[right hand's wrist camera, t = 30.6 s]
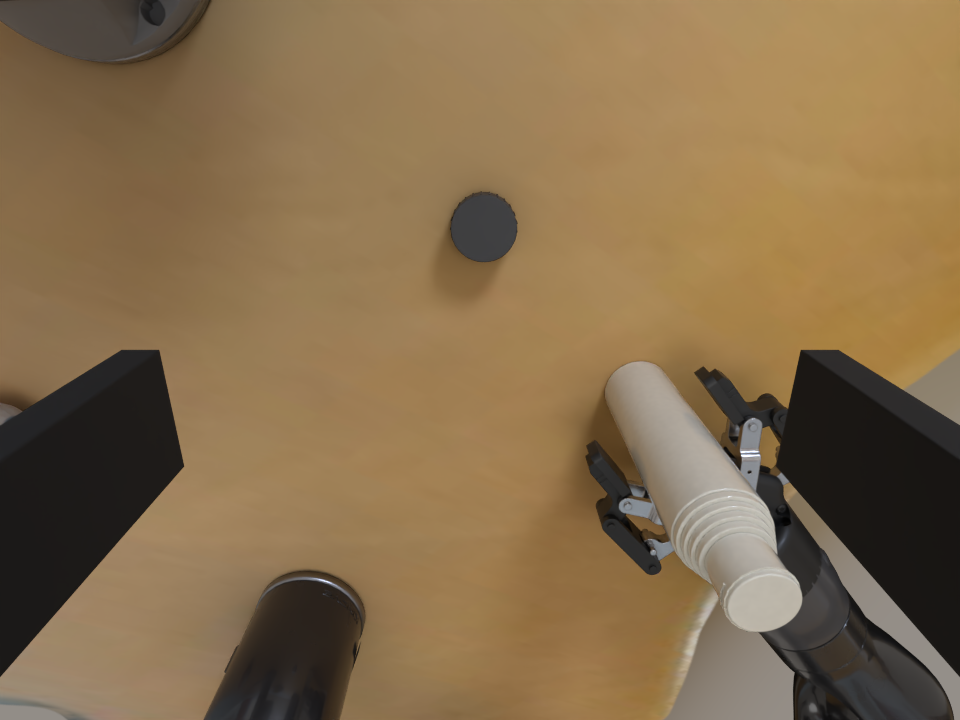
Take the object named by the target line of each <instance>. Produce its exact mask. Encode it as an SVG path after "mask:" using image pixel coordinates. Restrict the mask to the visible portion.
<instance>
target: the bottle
mask: <svg viewBox="0 0 960 720" xmlns="http://www.w3.org/2000/svg"><path fill="white" fill-rule="evenodd" d="M605 400H606V403H607V406H608V408H609V410H610V412H611V414H612V416H613V419H614V421H615V423H616V425H617V427H618V429H619V432H620V434H621V436H622V438H623V440H624V443H625V445H626V447H627V449H628V451H629V453H630V456H631V458H632V460H633V462H634V464H635V467H636V469H637V471H638V473H639V475H640V477H641V480H642V482H643V484H644V486H645V488H646V490H647V493H648V495H649V497H650V499H651V501H652V504H653V506H654V508H655V510H656V512H657V514H658V517H659V519H660V521H661V523H662V525H663V527H664V530H665V532H666V534H667V536H668V538H669V541H670V543H671V545H672V547H673V549H674V551H675V553H676V554H677V555H678V557H679V558H680V559H681V560H682V562H683V563H684V564H685V565H686V566H687V567H688V568H690V569H691V570H693V571H694V572H695V573H697V574H698V575H699V576H701V577H702V578H703V579H705V580H706V581H707V582H709V583H710V584H712V585H713V587H714V589H715V590H716V592H717V594H718V596H719V601H720V604H721V607H722V609H723V610H724V613H725V615H726V617H727V618H728V619H729V621H730V622H731V623H732V624H733V625H735V626H736V627H738V628H739V629H742V630H745V631H747V632H766V631H771V630H775V629H777V628H780V627H782V626H784V625H785V624H787V623H788V622H790V621H791V620H792V619H793V618H794V617H795V616H796V614H797V613H798V612H799V610H800V608H801V605H802V592H801V589H800V585H799V582H798V581H797V579H796V577H795V576H794V575H793V574H792V573H790V572H789V571H788V570H787V568H786V567H785V565H784V564H783V562H782V561H781V560H780V558H779V557H778V555H777V543H776V535H775V526H774V521H773V518H772V516H771V514H770V511H769V509H768V507H767V506H766V504H765V503H764V502H763V500H762V499H761V498H760V496H759V495H758V494H757V492H756V491H755V490H754V489H753V487H752V486H751V485H750V483H749V482H748V481H747V479H746V478H745V477H744V475H743V474H742V473H741V472H740V470H739V469H738V468H737V466H736V465H735V464H734V462H733V461H732V460H731V458H730V457H729V456H728V454H727V453H726V452H725V451H724V449H723V448H722V447H721V445H720V444H719V443H718V441H717V440H716V439H715V437H714V436H713V435H712V433H711V432H710V431H709V430H708V428H707V427H706V426H705V424H704V423H703V422H702V420H701V419H700V418H699V416H698V415H697V414H696V413H695V411H694V410H693V409H692V407H691V406H690V405H689V403H688V402H687V401H686V399H685V398H684V397H683V395H682V394H681V393H680V392H679V390H678V389H677V388H676V386H675V385H674V384H673V382H672V381H671V380H670V378H669V377H668V376H667V375H666V373H665V372H664V371H663V370H662V369H661V368H660V367H658V366H657V365H655V364H652V363H649V362H643V361H638V362H632V363H628V364H626V365H624V366H622V367H620V368H619V369H617V370H616V371H615V372H614V373H613V374H612V375H611V377H610V378H609V380H608V382H607V385H606V388H605Z"/></svg>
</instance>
